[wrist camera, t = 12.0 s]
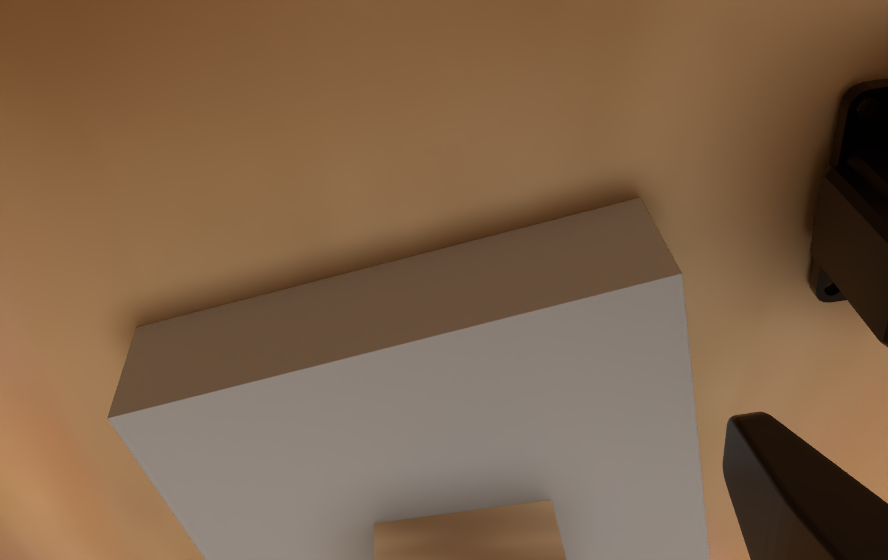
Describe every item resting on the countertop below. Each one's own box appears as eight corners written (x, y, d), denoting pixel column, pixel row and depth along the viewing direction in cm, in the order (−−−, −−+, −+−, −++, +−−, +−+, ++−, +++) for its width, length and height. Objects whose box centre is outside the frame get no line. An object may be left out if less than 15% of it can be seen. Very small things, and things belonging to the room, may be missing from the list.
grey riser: (634, 187, 23) (682, 273, 19) (684, 572, 33) (720, 670, 30) (140, 315, 24) (107, 418, 20) (341, 650, 34) (340, 753, 31)
